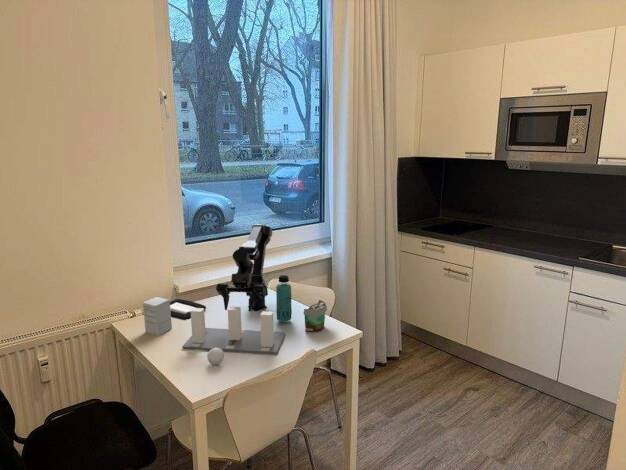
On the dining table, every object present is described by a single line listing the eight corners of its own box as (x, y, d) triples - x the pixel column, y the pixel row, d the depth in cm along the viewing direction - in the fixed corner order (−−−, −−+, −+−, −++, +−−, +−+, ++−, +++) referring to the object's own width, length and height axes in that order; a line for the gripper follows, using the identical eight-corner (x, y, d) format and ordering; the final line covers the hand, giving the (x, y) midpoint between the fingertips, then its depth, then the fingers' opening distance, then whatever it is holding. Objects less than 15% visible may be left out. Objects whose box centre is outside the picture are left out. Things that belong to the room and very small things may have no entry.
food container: (316, 336, 165) (316, 312, 163) (303, 333, 169) (303, 309, 166) (332, 325, 176) (332, 302, 173) (319, 321, 179) (319, 299, 176)
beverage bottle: (273, 323, 177) (272, 277, 172) (280, 317, 183) (279, 272, 178) (287, 326, 174) (287, 279, 170) (294, 320, 180) (294, 274, 176)
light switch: (153, 308, 189) (177, 295, 200) (154, 314, 190) (178, 301, 201) (185, 317, 179) (208, 303, 190) (186, 323, 180) (209, 309, 191)
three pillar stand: (199, 329, 171) (197, 298, 168) (285, 334, 167) (284, 302, 164) (182, 349, 156) (179, 314, 153) (276, 354, 152) (276, 319, 149)
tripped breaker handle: (231, 336, 163) (230, 306, 160) (241, 336, 162) (240, 307, 160) (229, 339, 160) (227, 309, 157) (239, 340, 159) (238, 310, 157)
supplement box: (159, 325, 176) (156, 296, 173) (172, 328, 172) (170, 299, 169) (144, 332, 169) (141, 302, 166) (158, 336, 166) (155, 305, 163)
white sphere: (225, 358, 149) (224, 344, 148) (224, 367, 144) (223, 352, 142) (202, 360, 148) (201, 345, 147) (200, 368, 143) (199, 353, 141)
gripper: (216, 263, 165) (207, 300, 157) (263, 265, 163) (257, 303, 155) (223, 276, 175) (215, 312, 166) (268, 278, 172) (262, 314, 164)
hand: (237, 310), depth 163 cm, fingers open, 9 cm apart
